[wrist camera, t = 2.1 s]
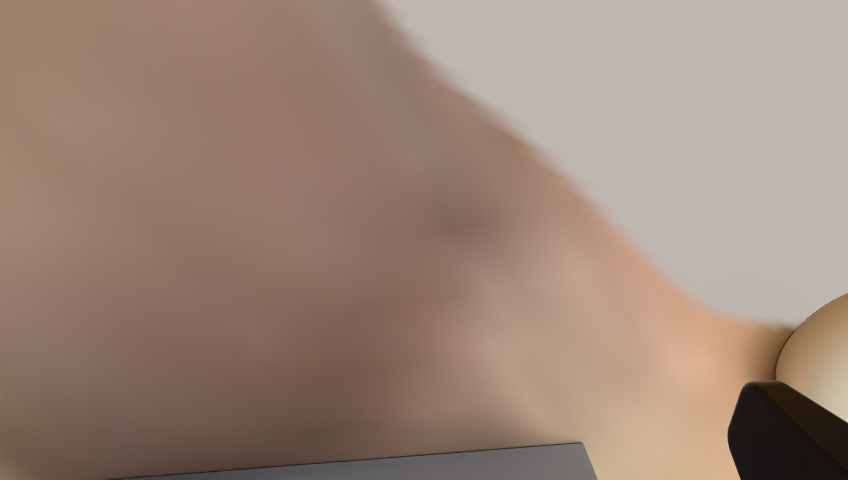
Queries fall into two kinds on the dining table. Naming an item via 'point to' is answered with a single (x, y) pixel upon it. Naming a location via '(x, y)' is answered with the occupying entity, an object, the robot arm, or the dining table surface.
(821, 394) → the tape roll
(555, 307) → the dining table surface
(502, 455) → the carton
